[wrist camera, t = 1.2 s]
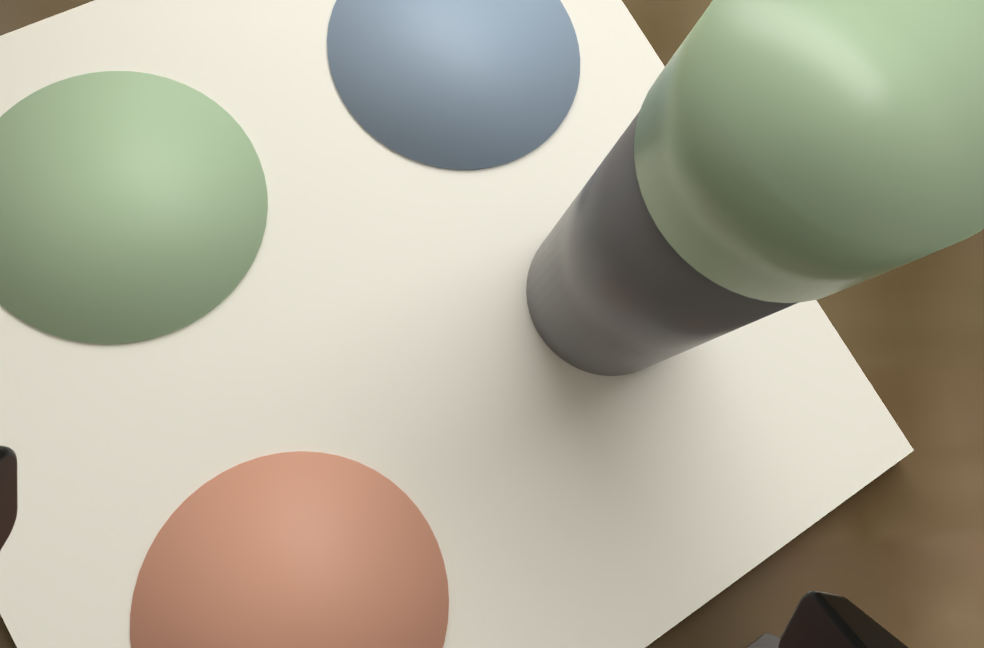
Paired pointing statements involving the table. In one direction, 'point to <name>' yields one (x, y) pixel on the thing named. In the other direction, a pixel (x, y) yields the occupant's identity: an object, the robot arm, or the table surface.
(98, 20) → the white square board
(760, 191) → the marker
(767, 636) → the button housing
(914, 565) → the table surface
